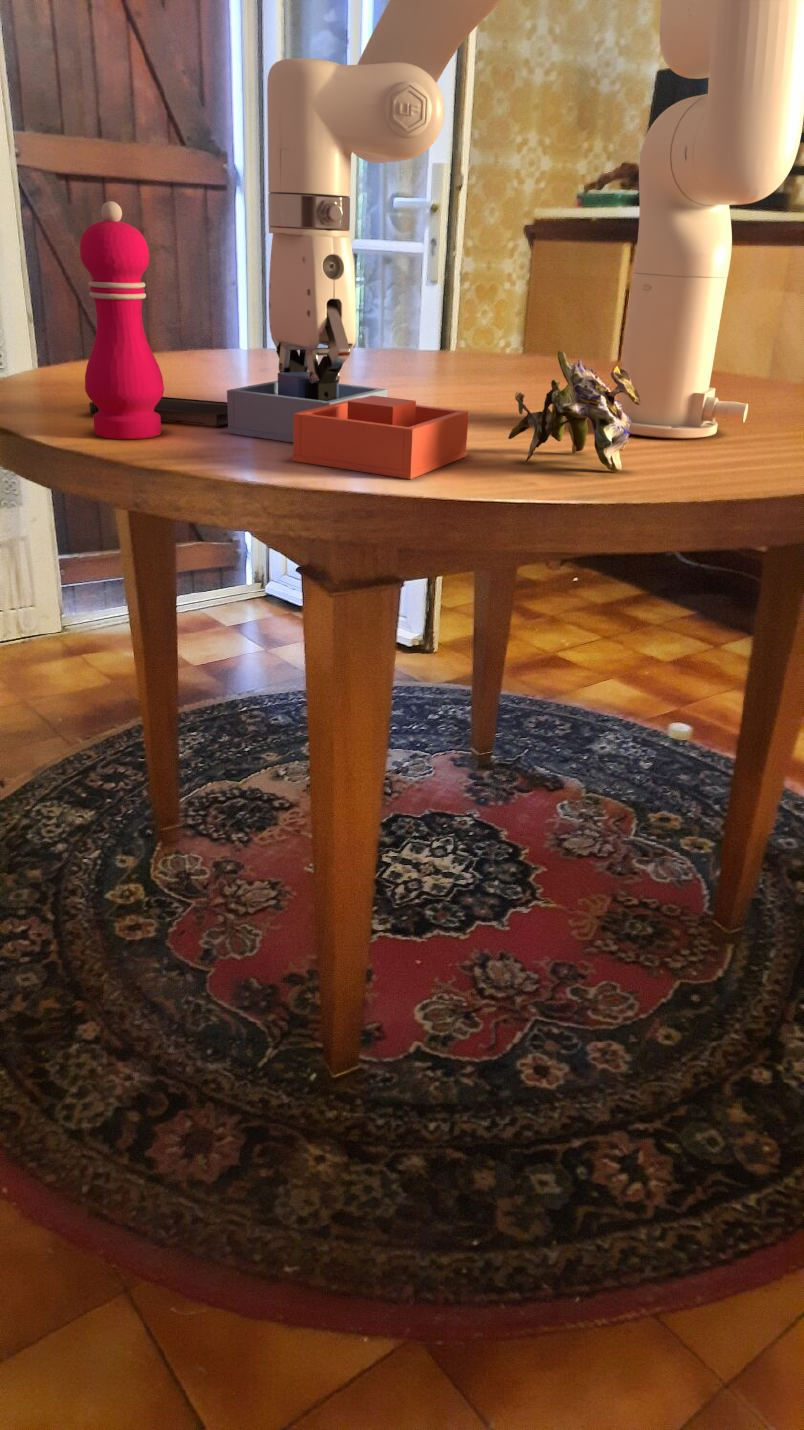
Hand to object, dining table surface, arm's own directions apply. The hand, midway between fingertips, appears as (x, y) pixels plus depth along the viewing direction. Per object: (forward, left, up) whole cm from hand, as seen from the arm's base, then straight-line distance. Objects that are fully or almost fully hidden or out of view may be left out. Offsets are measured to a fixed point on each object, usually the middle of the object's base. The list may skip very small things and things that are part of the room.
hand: (308, 418), depth 102 cm
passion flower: (-27, -1, -2) cm, 27 cm away
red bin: (-12, +7, -1) cm, 14 cm away
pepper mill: (+13, +12, -2) cm, 18 cm away
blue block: (0, 0, 0) cm, 0 cm away
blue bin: (0, 0, -1) cm, 1 cm away
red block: (-12, +7, -1) cm, 14 cm away
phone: (+16, +2, -1) cm, 16 cm away
